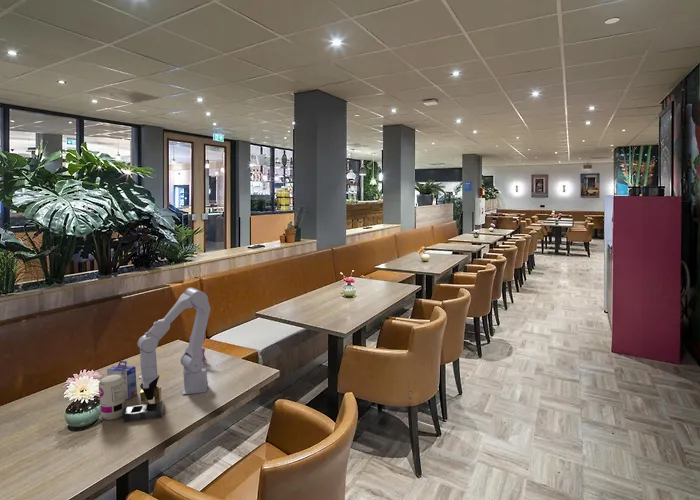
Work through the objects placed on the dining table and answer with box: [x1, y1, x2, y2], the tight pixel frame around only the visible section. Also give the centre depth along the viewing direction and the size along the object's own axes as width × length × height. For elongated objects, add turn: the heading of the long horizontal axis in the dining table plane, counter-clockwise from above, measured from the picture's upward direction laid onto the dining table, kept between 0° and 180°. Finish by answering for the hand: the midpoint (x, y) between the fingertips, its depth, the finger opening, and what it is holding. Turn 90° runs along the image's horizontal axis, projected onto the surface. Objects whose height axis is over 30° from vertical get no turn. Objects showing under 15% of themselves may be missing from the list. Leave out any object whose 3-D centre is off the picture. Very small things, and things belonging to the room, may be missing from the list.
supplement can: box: [98, 374, 127, 421], centre depth 155 cm, size 8×8×15 cm
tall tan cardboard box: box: [139, 385, 162, 405], centre depth 165 cm, size 7×4×6 cm, turn 104°
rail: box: [122, 401, 165, 423], centre depth 156 cm, size 13×6×3 cm, turn 104°
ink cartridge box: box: [106, 360, 138, 400], centre depth 171 cm, size 10×6×14 cm, turn 79°
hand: (151, 397), depth 165 cm, fingers closed on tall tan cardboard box, 3 cm apart
